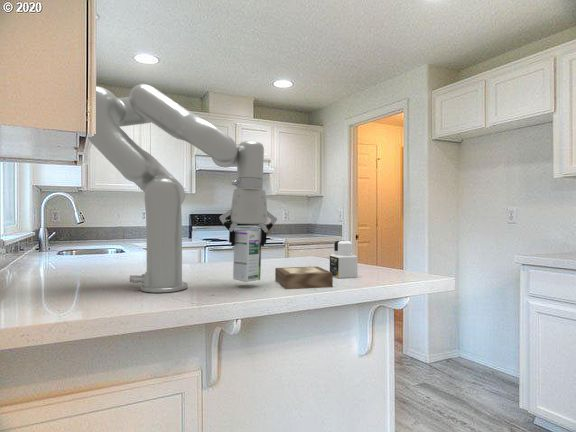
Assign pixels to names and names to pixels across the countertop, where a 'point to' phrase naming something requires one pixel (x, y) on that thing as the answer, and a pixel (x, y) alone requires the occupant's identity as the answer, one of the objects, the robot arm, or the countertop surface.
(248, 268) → the syrup box
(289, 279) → the stand
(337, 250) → the medicine bottle
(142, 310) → the countertop surface
